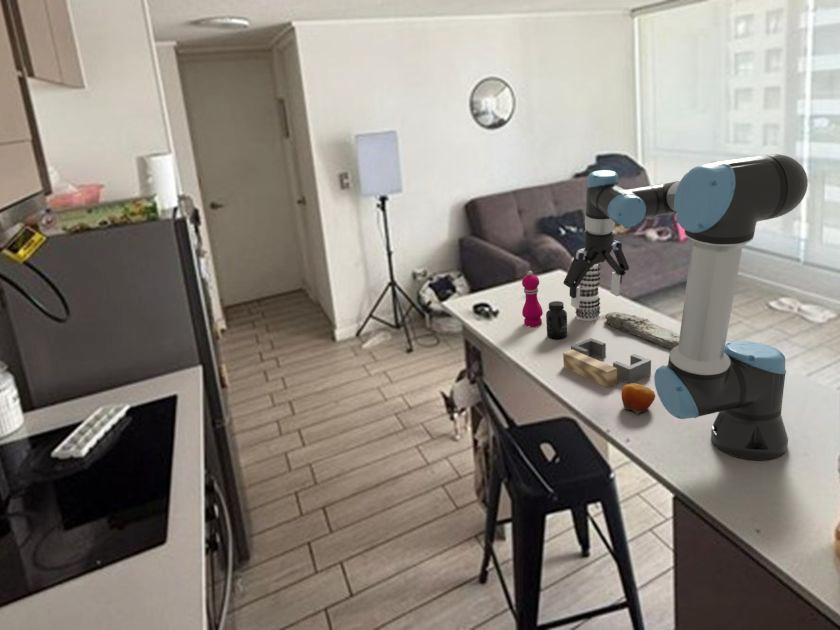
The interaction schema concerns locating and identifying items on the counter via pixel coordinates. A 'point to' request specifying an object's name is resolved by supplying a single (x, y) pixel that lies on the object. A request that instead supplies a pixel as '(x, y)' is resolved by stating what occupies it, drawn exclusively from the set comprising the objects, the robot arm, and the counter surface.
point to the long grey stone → (643, 329)
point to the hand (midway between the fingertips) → (595, 300)
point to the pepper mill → (531, 301)
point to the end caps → (625, 373)
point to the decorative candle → (589, 295)
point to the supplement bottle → (556, 321)
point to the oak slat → (590, 368)
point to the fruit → (637, 397)
